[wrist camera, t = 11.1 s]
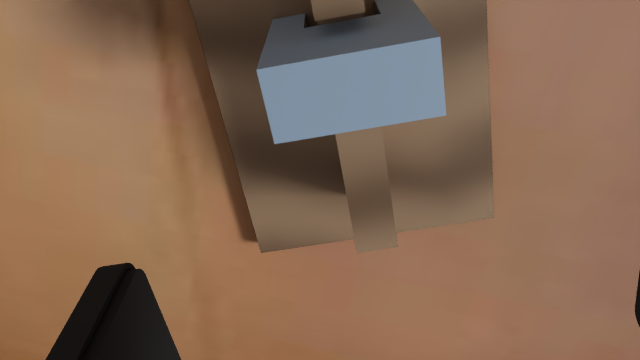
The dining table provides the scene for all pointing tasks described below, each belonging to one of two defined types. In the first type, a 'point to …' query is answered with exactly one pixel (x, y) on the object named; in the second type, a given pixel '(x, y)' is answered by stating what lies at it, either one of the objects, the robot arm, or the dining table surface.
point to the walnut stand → (354, 134)
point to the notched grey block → (351, 73)
